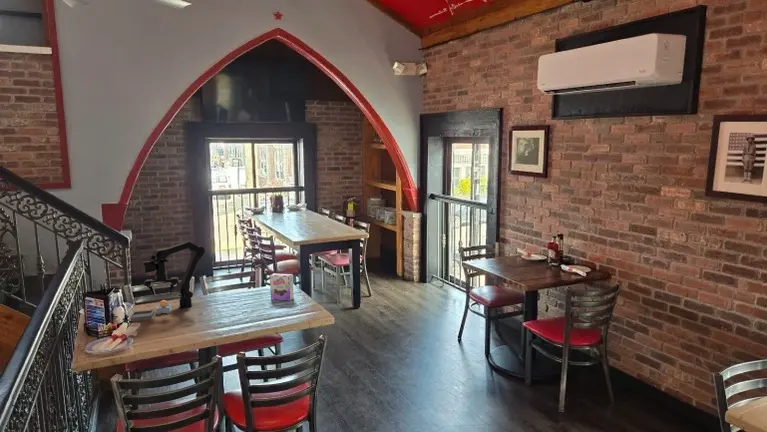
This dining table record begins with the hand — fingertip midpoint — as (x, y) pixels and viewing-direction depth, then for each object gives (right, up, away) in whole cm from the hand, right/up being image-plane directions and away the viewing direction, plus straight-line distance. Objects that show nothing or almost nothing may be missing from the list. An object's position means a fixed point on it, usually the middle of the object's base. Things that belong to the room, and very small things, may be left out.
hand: (162, 295), depth 319 cm
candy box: (+68, -6, +21) cm, 72 cm away
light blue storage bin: (0, -10, +1) cm, 10 cm away
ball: (0, -5, +1) cm, 5 cm away
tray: (-9, -12, -8) cm, 17 cm away
